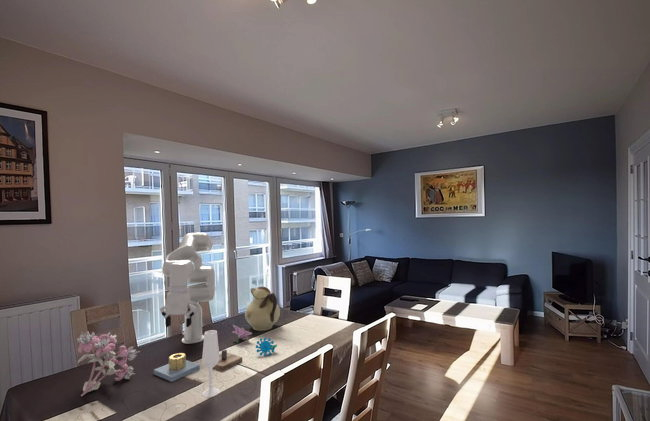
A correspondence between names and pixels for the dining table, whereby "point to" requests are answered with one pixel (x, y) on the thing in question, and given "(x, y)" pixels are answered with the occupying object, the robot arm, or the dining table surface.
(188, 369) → the hub plate
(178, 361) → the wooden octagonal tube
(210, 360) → the champagne flute
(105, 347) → the flower
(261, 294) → the pitcher
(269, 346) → the gear
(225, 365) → the rod stand
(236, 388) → the dining table surface
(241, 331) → the lily
